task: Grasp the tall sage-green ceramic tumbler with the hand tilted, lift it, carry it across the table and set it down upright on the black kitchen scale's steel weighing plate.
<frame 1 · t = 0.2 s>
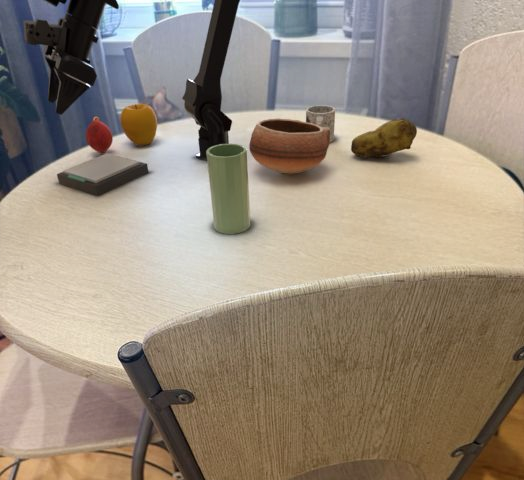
hand: (54, 107, 100), 15 cm above the table, tool tilted 35°, fingers open, 9 cm apart
bowl: (288, 172, 111), on the table
tumbler: (232, 225, 93), on the table
onion: (103, 154, 123), on the table
mug: (319, 142, 125), on the table
scale: (104, 178, 111), on the table
potato: (381, 158, 116), on the table
apple: (143, 143, 128), on the table
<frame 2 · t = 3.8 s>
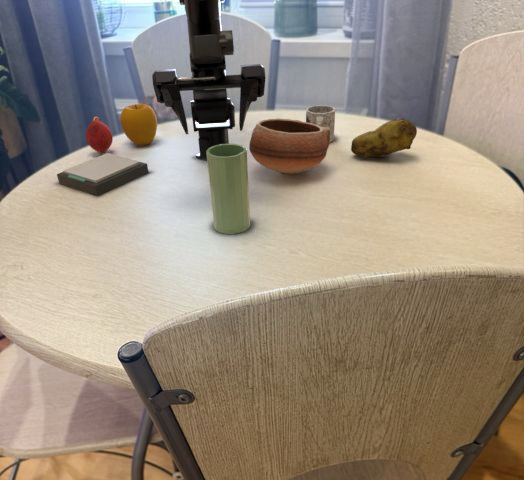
hand: (214, 131, 90), 14 cm above the table, tool tilted 45°, fingers open, 9 cm apart
nothing on the table moved.
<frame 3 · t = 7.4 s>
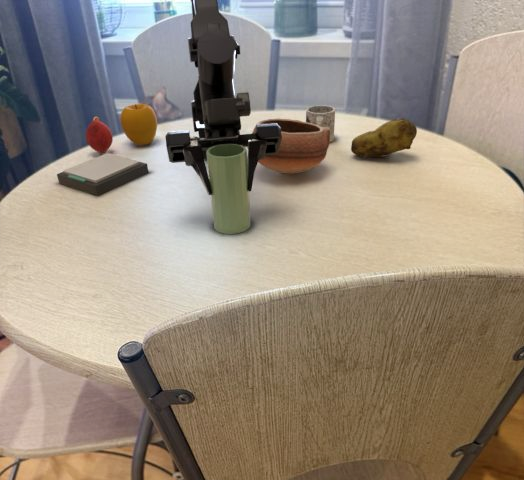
hand: (230, 192, 87), 7 cm above the table, tool tilted 45°, fingers closed on tumbler, 6 cm apart
tumbler: (232, 225, 93), on the table, touching gripper
everything else where it was.
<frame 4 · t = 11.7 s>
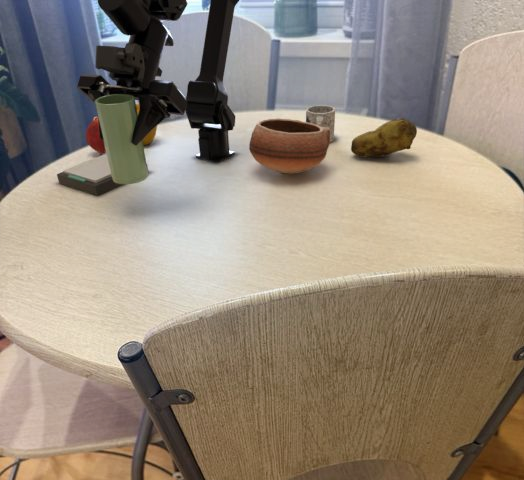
hand: (117, 141, 89), 13 cm above the table, tool tilted 45°, fingers closed on tumbler, 6 cm apart
tumbler: (130, 177, 95), point 6 cm above the table, touching gripper
everything else where it was.
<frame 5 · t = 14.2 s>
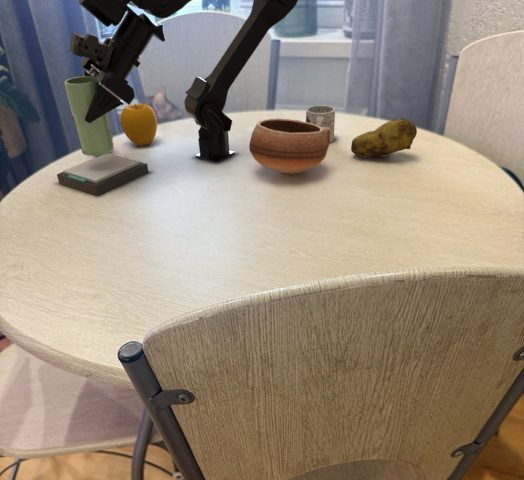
hand: (83, 117, 103), 12 cm above the table, tool tilted 45°, fingers closed on tumbler, 6 cm apart
tumbler: (98, 150, 107), point 6 cm above the table, touching gripper
everything else where it was.
when the fingers open (9 cm above the table, at t = 16.0 s): tumbler stays where it is, resting on scale.
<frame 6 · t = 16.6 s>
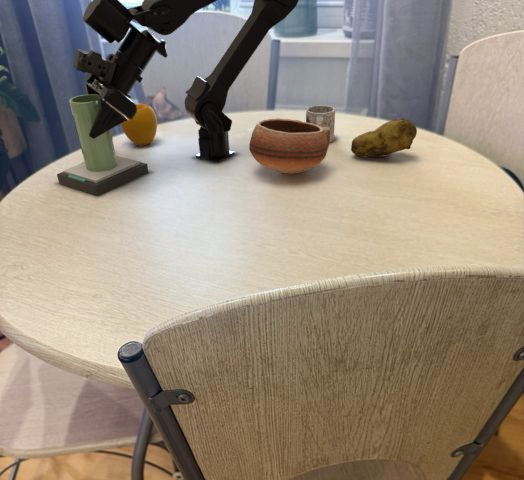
hand: (86, 130, 105), 10 cm above the table, tool tilted 45°, fingers open, 9 cm apart
tumbler: (101, 165, 110), point 3 cm above the table, touching scale
everything else where it was.
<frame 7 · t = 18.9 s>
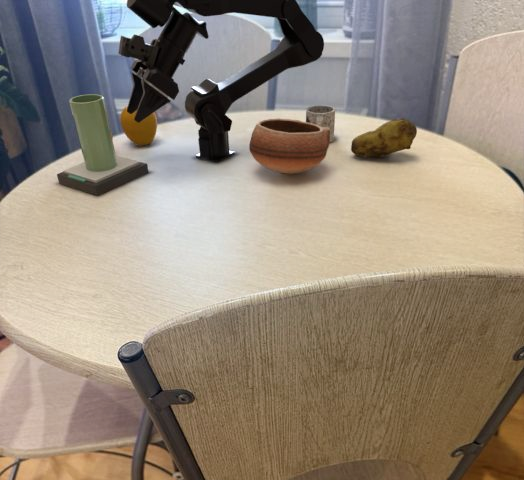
hand: (132, 116, 107), 11 cm above the table, tool tilted 40°, fingers open, 9 cm apart
nothing on the table moved.
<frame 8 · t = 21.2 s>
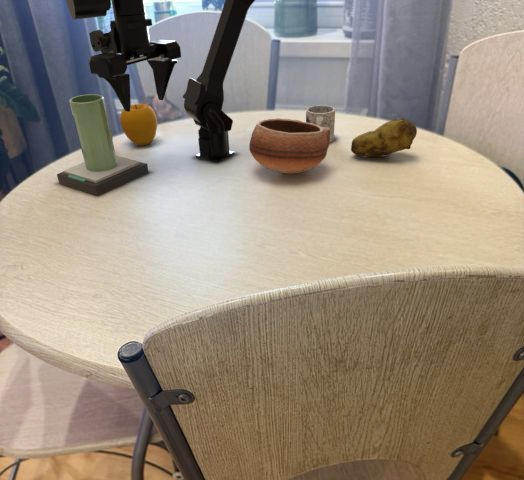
hand: (144, 105, 106), 13 cm above the table, tool pointing down, fingers open, 9 cm apart
nothing on the table moved.
at the end: tumbler inside the target area on the scale (0.0 cm from its centre), point 2.6 cm above the scale's base; tumbler tilted 0°; the gripper is holding nothing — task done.
